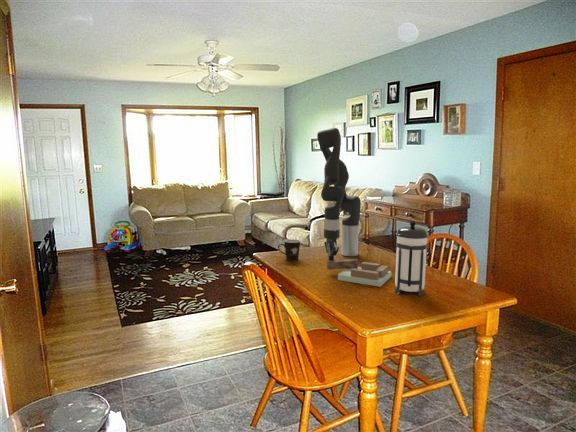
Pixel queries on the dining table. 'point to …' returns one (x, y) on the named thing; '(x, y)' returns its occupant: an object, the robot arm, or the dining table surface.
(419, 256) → the coffee press
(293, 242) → the coffee mug
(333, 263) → the brown rectangular bar
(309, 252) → the dining table surface
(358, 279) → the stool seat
